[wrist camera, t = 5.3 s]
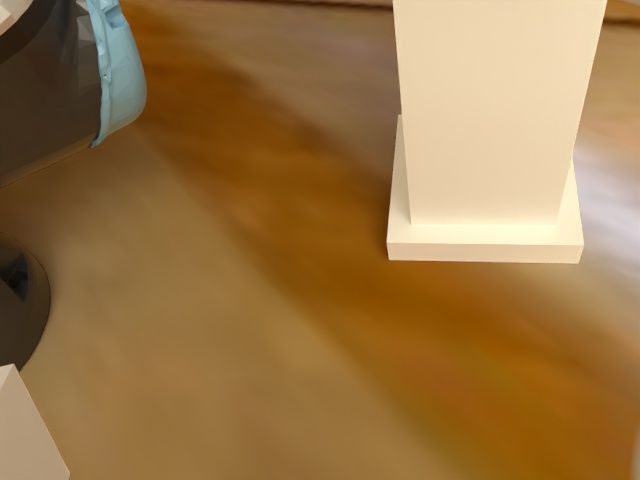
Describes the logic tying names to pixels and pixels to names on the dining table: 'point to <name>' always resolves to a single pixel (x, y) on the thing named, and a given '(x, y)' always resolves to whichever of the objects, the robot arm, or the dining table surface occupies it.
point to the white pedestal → (490, 129)
